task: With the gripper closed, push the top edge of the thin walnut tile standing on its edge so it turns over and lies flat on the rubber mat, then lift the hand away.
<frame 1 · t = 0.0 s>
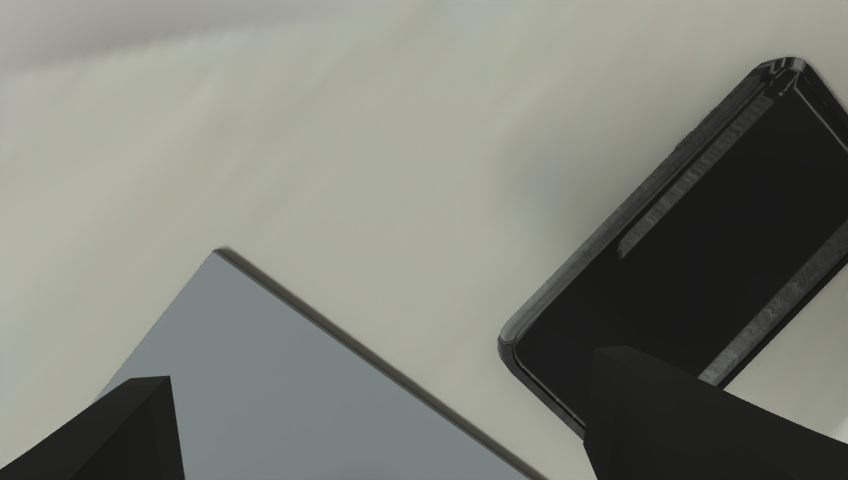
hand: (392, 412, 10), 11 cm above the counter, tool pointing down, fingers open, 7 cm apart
phone: (686, 264, 23), on the counter
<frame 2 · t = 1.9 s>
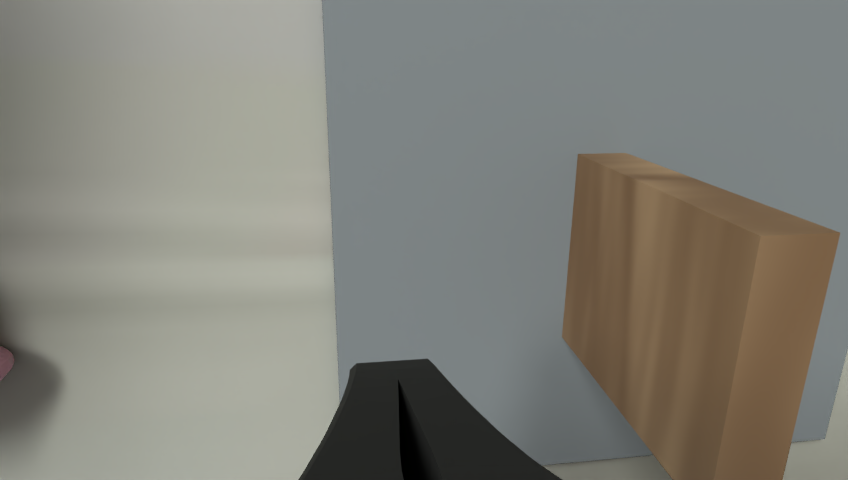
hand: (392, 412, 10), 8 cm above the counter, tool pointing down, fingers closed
rubber mat: (616, 243, 19), on the counter
walnut tile: (592, 249, 19), resting on rubber mat
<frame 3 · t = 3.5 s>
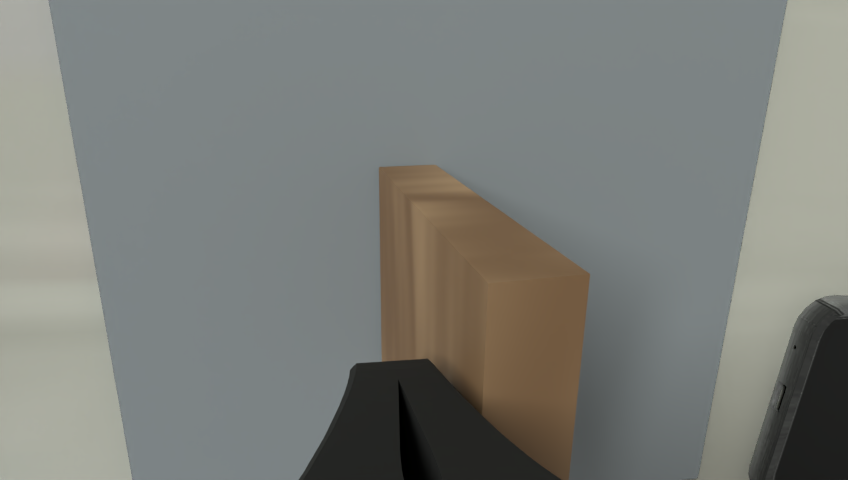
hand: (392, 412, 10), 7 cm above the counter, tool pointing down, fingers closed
rubber mat: (440, 265, 17), on the counter
walnut tile: (407, 273, 16), resting on rubber mat, tilted 6°, touching gripper
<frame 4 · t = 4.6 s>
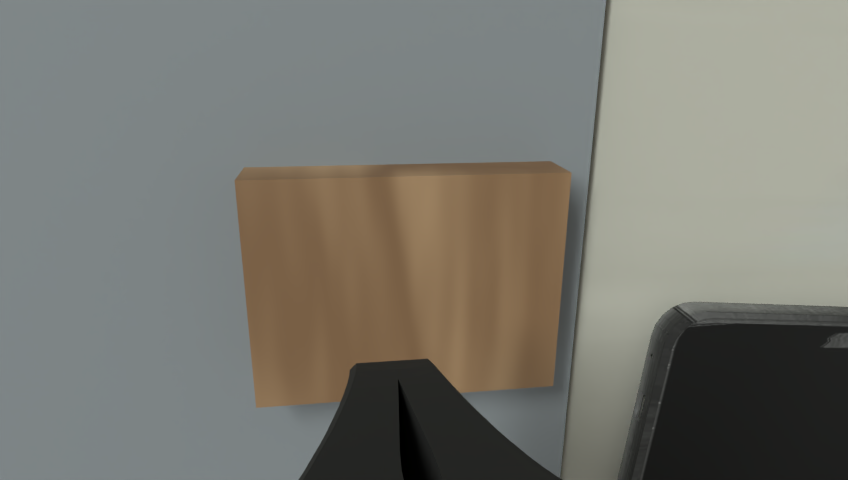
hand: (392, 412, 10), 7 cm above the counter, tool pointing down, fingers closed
phone: (821, 399, 21), on the counter
rubber mat: (260, 272, 16), on the counter
walnut tile: (250, 289, 15), point 1 cm above the counter, tilted 90°, touching rubber mat
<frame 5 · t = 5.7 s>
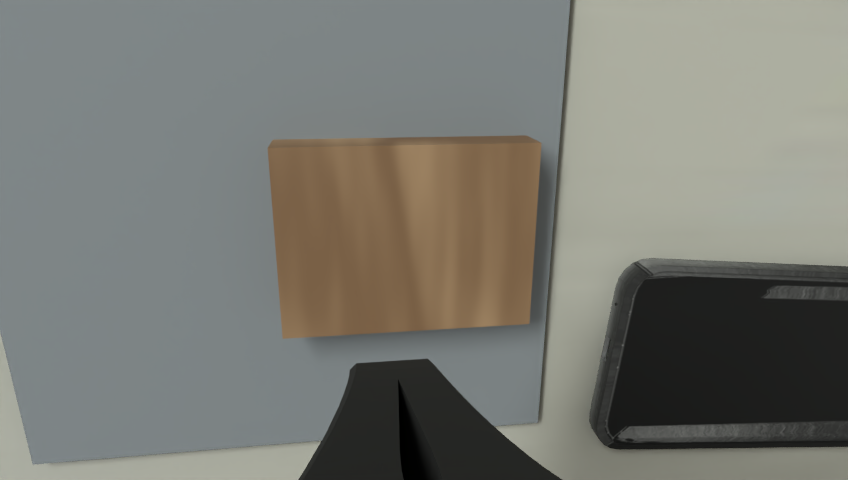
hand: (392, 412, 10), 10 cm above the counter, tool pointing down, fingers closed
phone: (767, 346, 24), on the counter
rubber mat: (285, 229, 19), on the counter
walnut tile: (277, 240, 18), point 1 cm above the counter, tilted 90°, touching rubber mat
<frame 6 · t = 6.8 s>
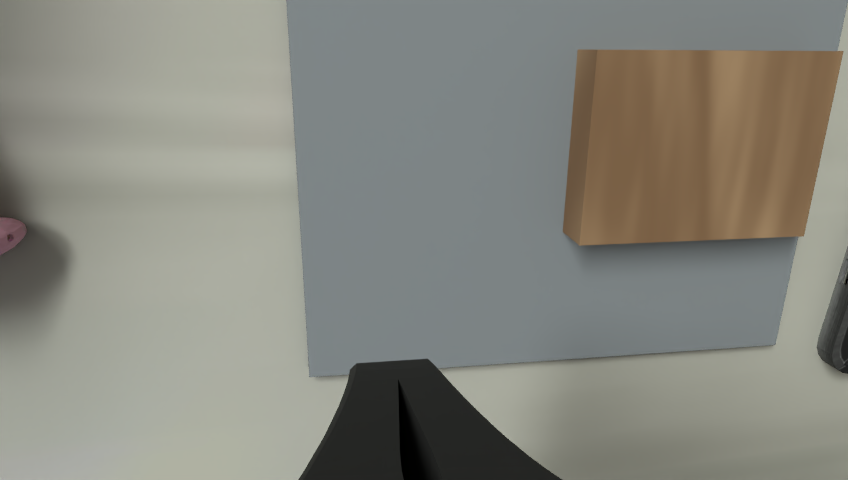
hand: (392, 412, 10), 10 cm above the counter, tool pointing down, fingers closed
rubber mat: (568, 143, 20), on the counter
walnut tile: (578, 148, 19), point 1 cm above the counter, tilted 90°, touching rubber mat
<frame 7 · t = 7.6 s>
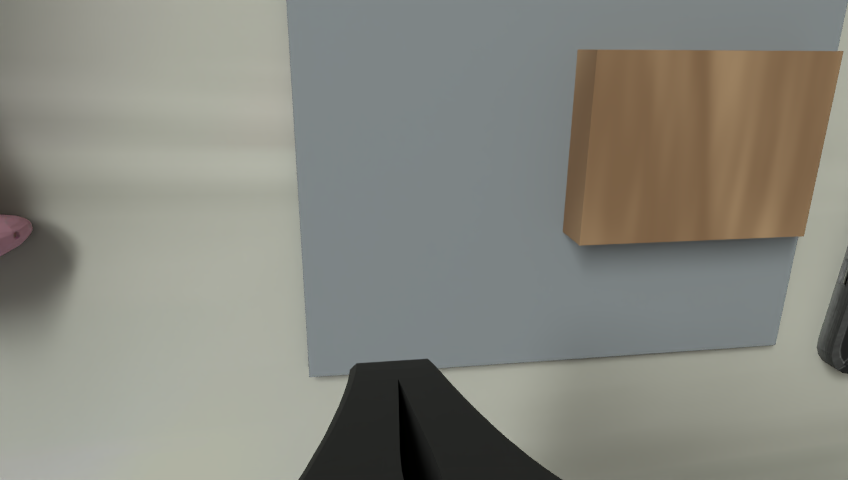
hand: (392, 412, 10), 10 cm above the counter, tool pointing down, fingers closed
rubber mat: (568, 143, 20), on the counter
walnut tile: (578, 148, 19), point 1 cm above the counter, tilted 90°, touching rubber mat
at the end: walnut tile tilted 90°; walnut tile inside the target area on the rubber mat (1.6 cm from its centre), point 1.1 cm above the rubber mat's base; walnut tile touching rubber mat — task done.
